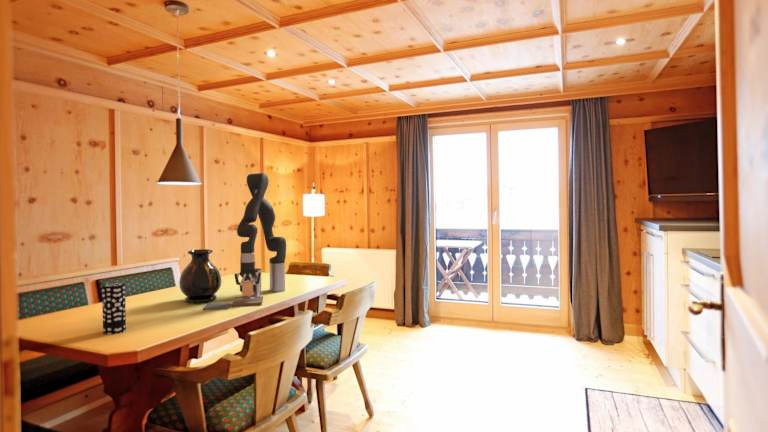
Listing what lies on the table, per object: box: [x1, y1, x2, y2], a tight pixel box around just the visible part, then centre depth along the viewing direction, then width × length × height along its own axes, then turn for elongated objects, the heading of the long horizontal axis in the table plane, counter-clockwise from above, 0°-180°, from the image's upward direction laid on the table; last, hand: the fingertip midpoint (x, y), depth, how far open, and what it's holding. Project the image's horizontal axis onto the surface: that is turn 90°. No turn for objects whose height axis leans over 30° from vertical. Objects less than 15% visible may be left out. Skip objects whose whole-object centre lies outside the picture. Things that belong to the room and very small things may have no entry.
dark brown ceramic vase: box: [178, 248, 222, 304], centre depth 243 cm, size 22×22×28 cm
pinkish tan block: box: [241, 281, 254, 297], centre depth 238 cm, size 6×6×7 cm
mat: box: [202, 302, 232, 311], centre depth 229 cm, size 12×12×1 cm
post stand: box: [231, 295, 264, 308], centre depth 238 cm, size 15×15×10 cm
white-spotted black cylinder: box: [101, 282, 127, 335], centre depth 186 cm, size 8×8×20 cm
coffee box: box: [242, 267, 262, 297], centre depth 254 cm, size 9×6×16 cm
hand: (247, 291), depth 238 cm, fingers closed on pinkish tan block, 5 cm apart
